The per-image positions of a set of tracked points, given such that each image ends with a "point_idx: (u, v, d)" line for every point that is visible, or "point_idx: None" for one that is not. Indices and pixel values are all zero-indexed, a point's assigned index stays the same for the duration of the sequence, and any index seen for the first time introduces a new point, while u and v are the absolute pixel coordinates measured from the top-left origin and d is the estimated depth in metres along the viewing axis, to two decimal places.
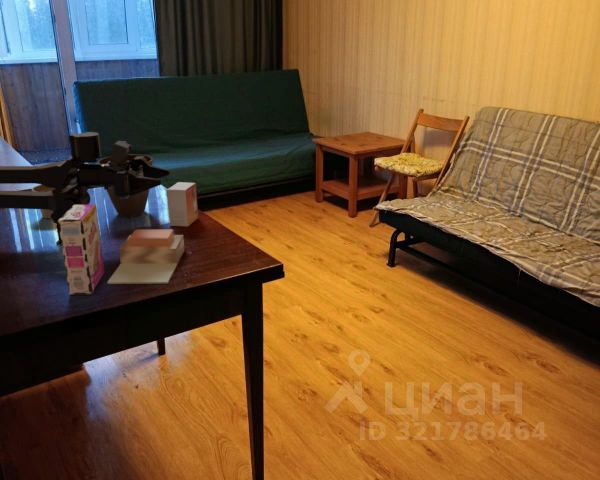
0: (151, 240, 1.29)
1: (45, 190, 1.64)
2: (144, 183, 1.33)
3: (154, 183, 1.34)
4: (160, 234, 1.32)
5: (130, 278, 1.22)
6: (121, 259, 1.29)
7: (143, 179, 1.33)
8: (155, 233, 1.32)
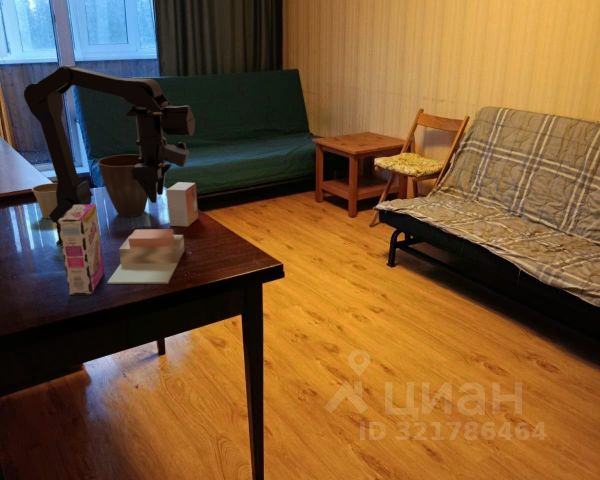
0: (151, 240, 1.29)
1: (45, 189, 1.64)
2: (150, 189, 1.32)
3: (151, 197, 1.34)
4: (160, 234, 1.32)
5: (130, 278, 1.22)
6: (121, 259, 1.29)
7: (154, 188, 1.32)
8: (155, 233, 1.32)
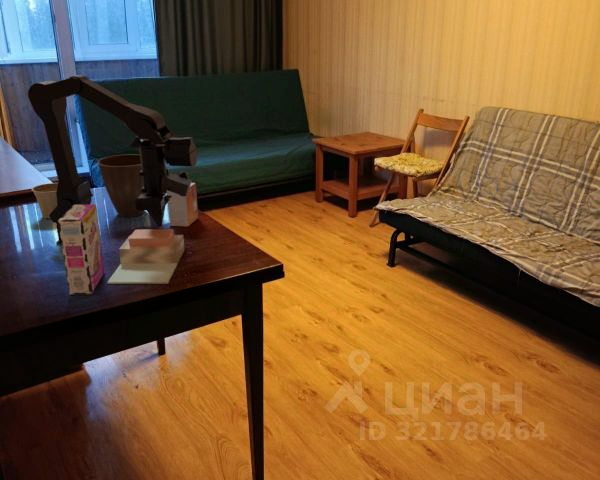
0: (151, 240, 1.29)
1: (45, 190, 1.64)
2: (156, 214, 1.38)
3: (157, 221, 1.39)
4: (160, 234, 1.32)
5: (130, 278, 1.22)
6: (121, 259, 1.29)
7: (160, 213, 1.37)
8: (155, 233, 1.32)
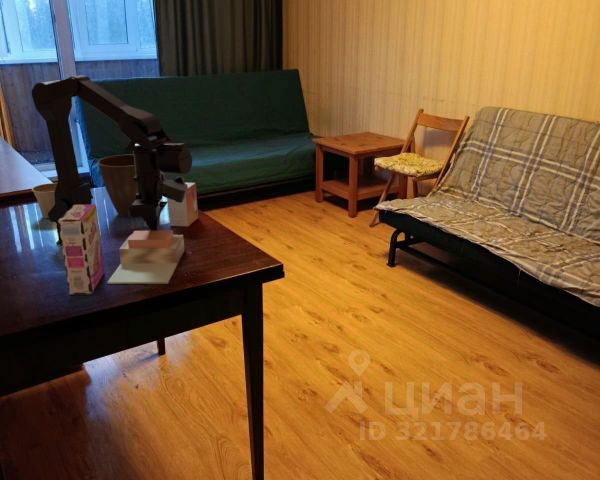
0: (150, 241, 1.29)
1: (45, 189, 1.64)
2: (151, 220, 1.33)
3: (153, 228, 1.34)
4: (159, 235, 1.31)
5: (130, 278, 1.22)
6: (121, 259, 1.29)
7: (155, 220, 1.33)
8: (154, 234, 1.32)
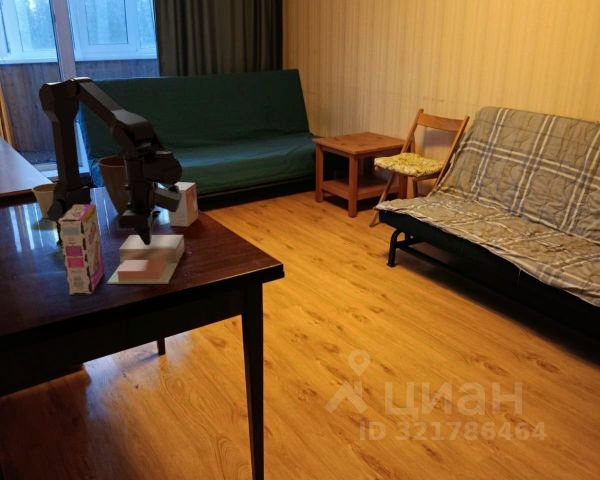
0: None
1: (45, 190, 1.64)
2: (144, 231, 1.26)
3: (145, 239, 1.27)
4: None
5: None
6: (121, 259, 1.29)
7: (148, 231, 1.26)
8: None
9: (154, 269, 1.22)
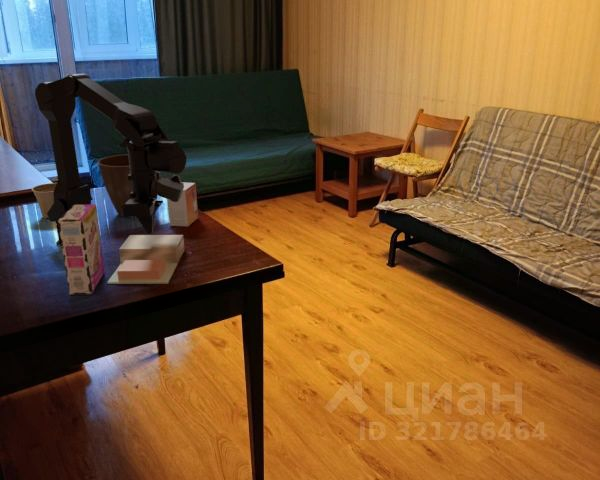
0: None
1: (45, 189, 1.64)
2: (146, 220, 1.28)
3: (147, 228, 1.30)
4: None
5: None
6: (121, 259, 1.29)
7: (150, 220, 1.28)
8: None
9: (154, 269, 1.22)
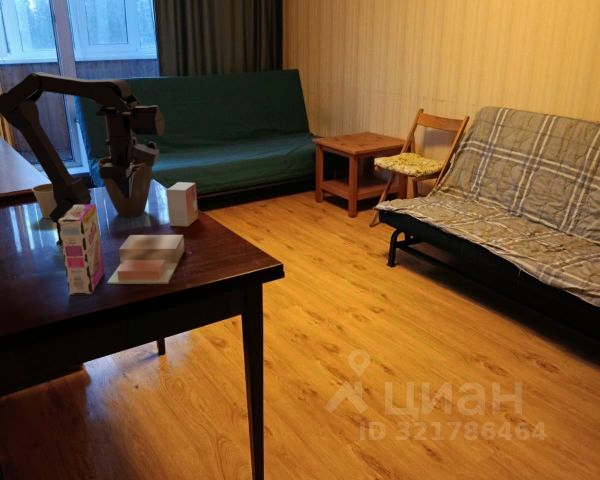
0: None
1: (45, 189, 1.64)
2: (124, 184, 1.36)
3: (125, 192, 1.37)
4: None
5: None
6: (121, 259, 1.29)
7: (128, 184, 1.36)
8: None
9: (154, 269, 1.22)
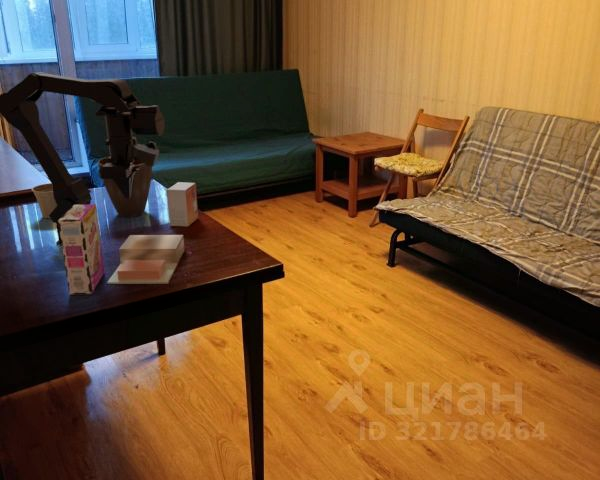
0: None
1: (45, 189, 1.64)
2: (124, 184, 1.36)
3: (125, 192, 1.37)
4: None
5: None
6: (121, 259, 1.29)
7: (128, 184, 1.36)
8: None
9: (154, 269, 1.22)
